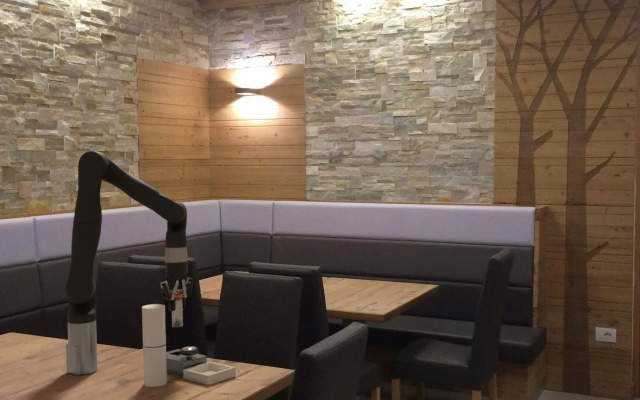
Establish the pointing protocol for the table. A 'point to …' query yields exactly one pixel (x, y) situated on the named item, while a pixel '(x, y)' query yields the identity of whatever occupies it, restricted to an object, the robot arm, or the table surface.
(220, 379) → the dish
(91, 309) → the robot arm
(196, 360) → the dark grey block
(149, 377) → the cylindrical container
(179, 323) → the pin
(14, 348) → the table surface
